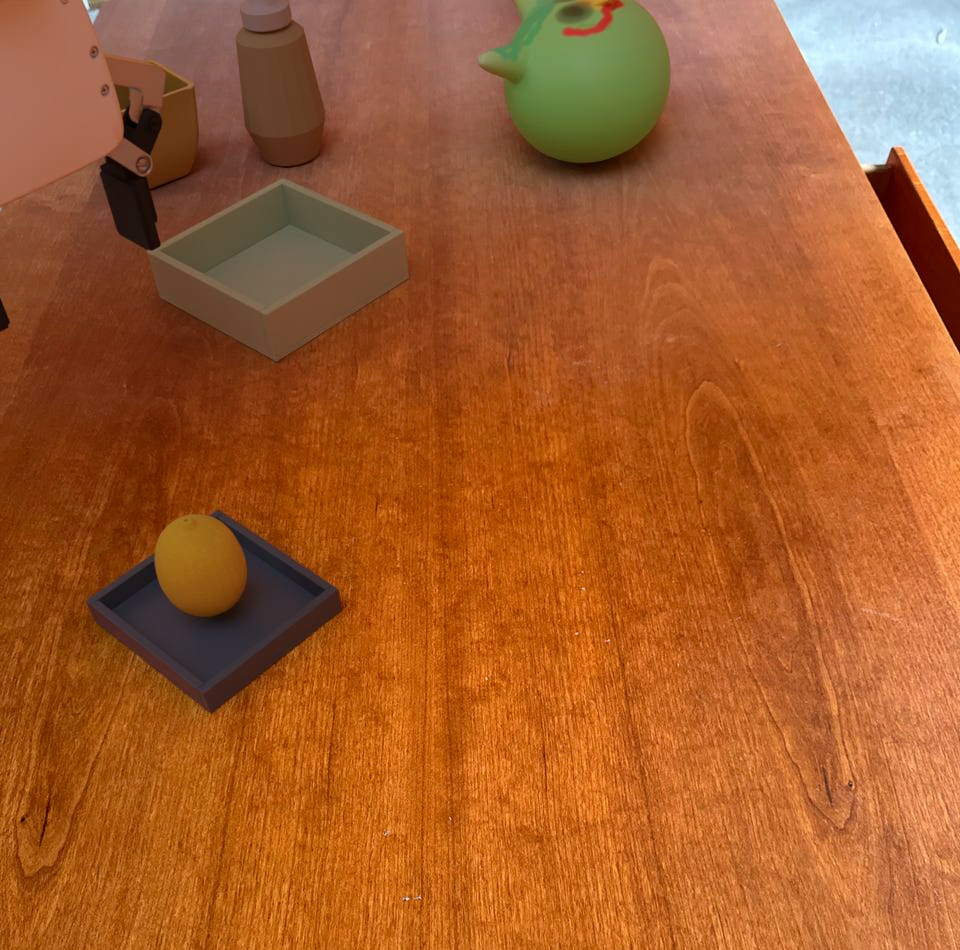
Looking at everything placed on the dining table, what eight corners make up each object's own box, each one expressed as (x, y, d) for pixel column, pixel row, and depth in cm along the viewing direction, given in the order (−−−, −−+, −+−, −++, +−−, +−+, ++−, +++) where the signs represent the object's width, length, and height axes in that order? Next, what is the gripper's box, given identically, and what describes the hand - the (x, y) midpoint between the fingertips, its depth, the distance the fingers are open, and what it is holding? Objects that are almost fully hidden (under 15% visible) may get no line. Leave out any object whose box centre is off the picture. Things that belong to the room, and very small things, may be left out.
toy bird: (660, 195, 110) (670, 31, 99) (482, 191, 113) (473, 30, 102) (670, 107, 122) (680, -49, 111) (508, 105, 124) (503, -48, 113)
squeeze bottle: (280, 182, 116) (242, -15, 103) (236, 154, 120) (195, -38, 107) (346, 153, 119) (318, -41, 106) (302, 127, 124) (269, -63, 110)
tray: (94, 620, 78) (85, 600, 77) (224, 529, 83) (218, 508, 82) (211, 714, 72) (203, 693, 71) (343, 609, 77) (338, 588, 76)
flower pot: (173, 145, 123) (150, 56, 116) (217, 174, 118) (195, 83, 111) (98, 175, 119) (69, 85, 112) (139, 206, 115) (112, 114, 108)
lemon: (274, 596, 78) (249, 506, 72) (222, 653, 75) (191, 564, 69) (209, 569, 80) (180, 479, 74) (155, 623, 77) (120, 534, 71)
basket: (159, 297, 104) (145, 251, 100) (291, 223, 111) (282, 177, 107) (276, 362, 96) (265, 314, 93) (409, 277, 103) (404, 230, 100)
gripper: (62, -144, 56) (153, 193, 69) (-291, -29, 48) (-113, 327, 61) (159, -114, 53) (235, 235, 66) (-204, 15, 45) (-36, 383, 58)
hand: (67, 279), depth 63 cm, fingers open, 9 cm apart
